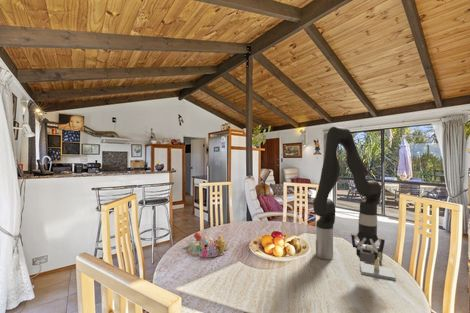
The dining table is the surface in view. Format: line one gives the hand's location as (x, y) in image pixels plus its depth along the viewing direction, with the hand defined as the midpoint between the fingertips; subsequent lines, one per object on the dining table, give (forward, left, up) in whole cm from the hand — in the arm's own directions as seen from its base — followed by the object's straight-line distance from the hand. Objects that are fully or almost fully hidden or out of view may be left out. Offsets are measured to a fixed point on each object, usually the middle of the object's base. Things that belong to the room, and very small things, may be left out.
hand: (366, 257), depth 107 cm
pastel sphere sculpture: (-86, -3, -11) cm, 87 cm away
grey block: (0, 0, -1) cm, 1 cm away
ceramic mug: (+5, +26, -11) cm, 29 cm away
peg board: (+5, +10, -10) cm, 15 cm away
